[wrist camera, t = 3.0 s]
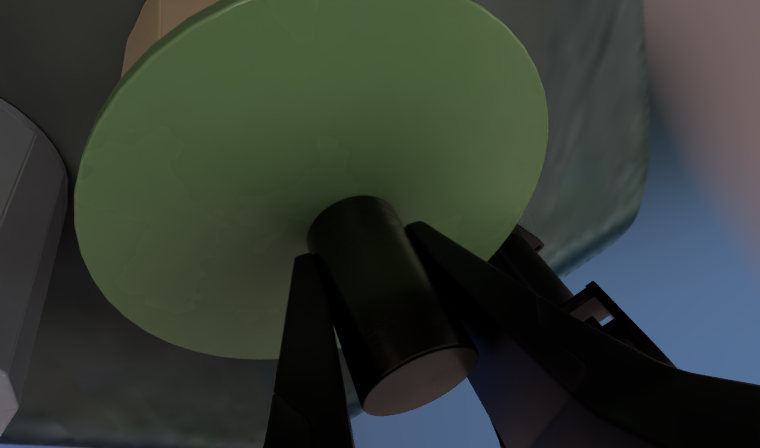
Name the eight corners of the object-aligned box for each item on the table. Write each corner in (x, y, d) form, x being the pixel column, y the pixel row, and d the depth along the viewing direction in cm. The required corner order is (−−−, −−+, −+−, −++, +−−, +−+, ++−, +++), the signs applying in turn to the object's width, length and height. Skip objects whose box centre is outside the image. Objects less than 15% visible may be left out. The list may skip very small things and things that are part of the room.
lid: (581, -71, 8) (887, 11, 5) (486, 271, 16) (573, 394, 13) (-92, 5, 6) (-522, 319, 2) (193, 370, 14) (204, 559, 10)
